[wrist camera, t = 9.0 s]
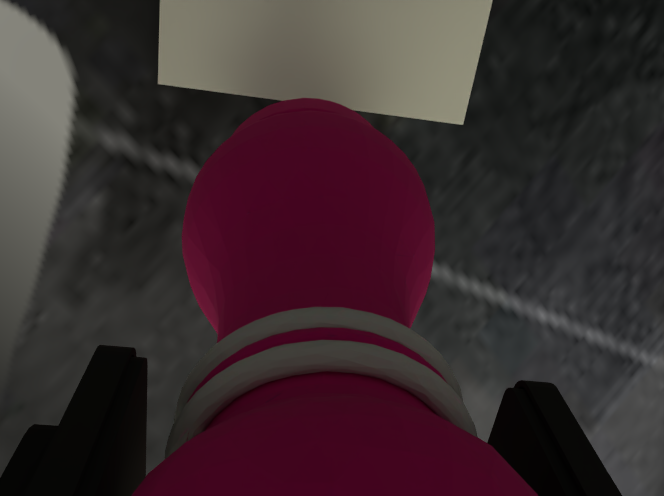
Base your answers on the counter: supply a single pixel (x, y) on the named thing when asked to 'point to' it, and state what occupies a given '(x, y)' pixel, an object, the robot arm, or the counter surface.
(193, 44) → the glazed tile
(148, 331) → the counter surface
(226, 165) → the pepper mill
